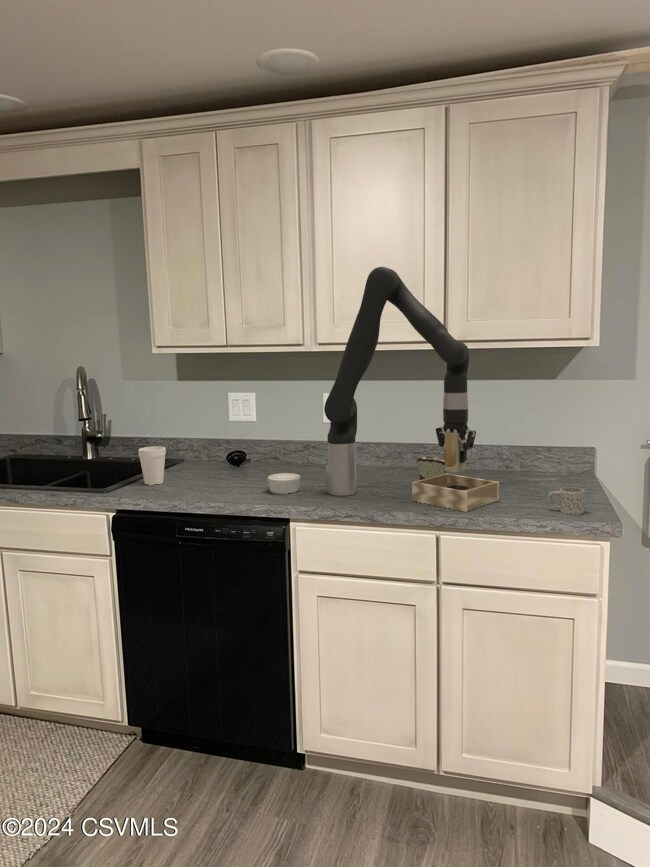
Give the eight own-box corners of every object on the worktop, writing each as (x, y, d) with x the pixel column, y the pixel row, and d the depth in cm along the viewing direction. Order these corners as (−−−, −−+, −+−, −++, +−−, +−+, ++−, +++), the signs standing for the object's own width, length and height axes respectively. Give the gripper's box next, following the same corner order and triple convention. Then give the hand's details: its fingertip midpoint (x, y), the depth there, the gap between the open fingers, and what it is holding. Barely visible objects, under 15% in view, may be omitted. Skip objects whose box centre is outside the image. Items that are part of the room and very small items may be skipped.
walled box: (412, 500, 212) (411, 482, 211) (446, 491, 224) (446, 473, 223) (465, 512, 198) (465, 492, 197) (498, 500, 210) (499, 482, 209)
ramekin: (283, 497, 221) (282, 481, 221) (261, 492, 229) (260, 476, 228) (307, 490, 229) (307, 475, 229) (285, 486, 237) (284, 471, 236)
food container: (456, 485, 232) (456, 457, 230) (446, 489, 227) (446, 460, 226) (425, 481, 240) (425, 453, 238) (416, 484, 235) (416, 456, 234)
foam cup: (172, 482, 246) (170, 447, 244) (152, 487, 239) (150, 451, 237) (155, 479, 252) (153, 445, 250) (135, 484, 244) (133, 449, 242)
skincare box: (454, 467, 213) (454, 429, 212) (466, 469, 211) (466, 430, 209) (444, 471, 209) (444, 432, 207) (456, 472, 206) (456, 433, 204)
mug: (583, 509, 198) (584, 487, 197) (584, 515, 192) (585, 492, 191) (547, 507, 201) (548, 485, 200) (547, 513, 195) (548, 490, 194)
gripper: (429, 406, 209) (429, 460, 212) (468, 409, 199) (468, 466, 202) (443, 404, 214) (444, 457, 217) (482, 407, 204) (482, 462, 207)
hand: (455, 461), depth 209 cm, fingers closed on skincare box, 4 cm apart
